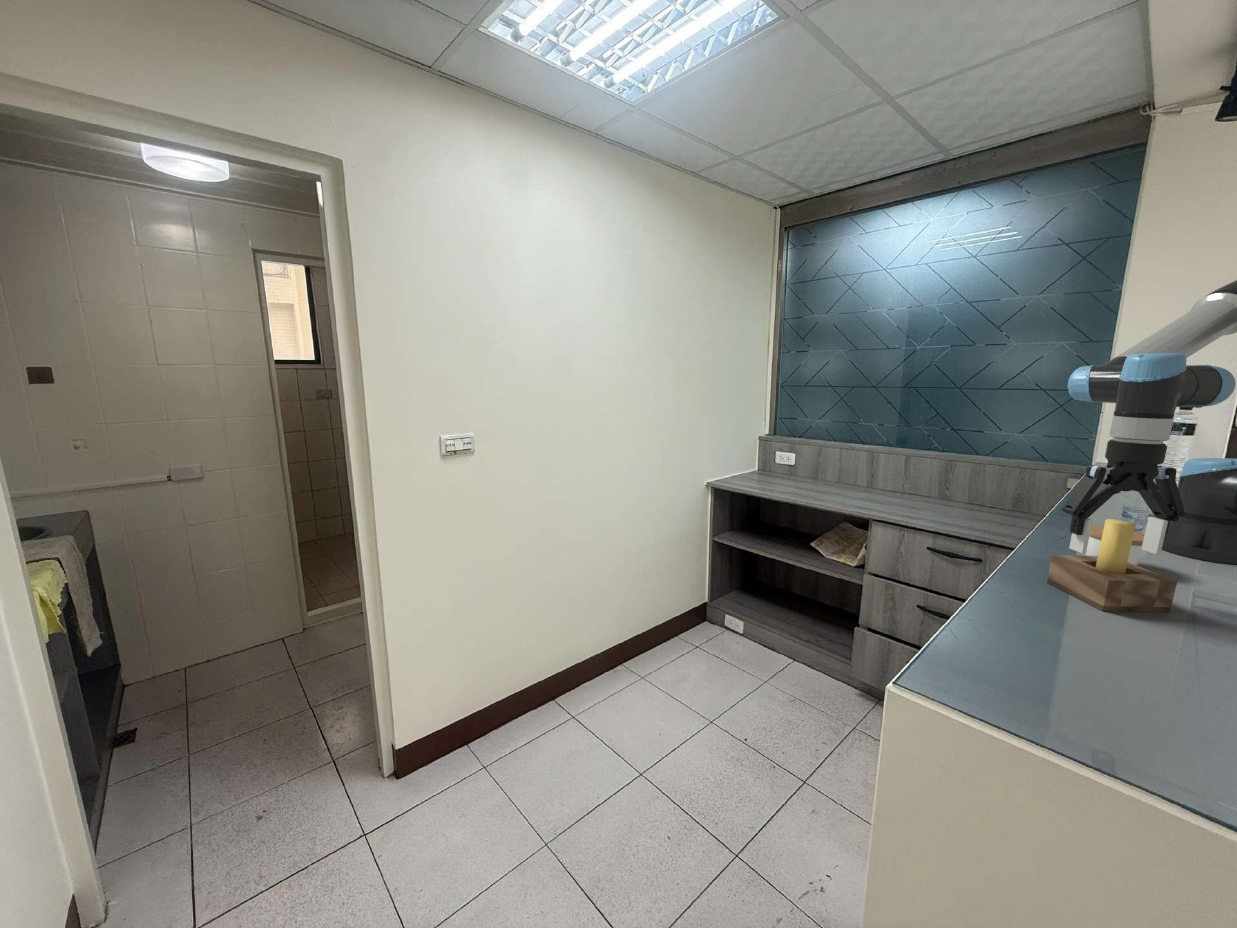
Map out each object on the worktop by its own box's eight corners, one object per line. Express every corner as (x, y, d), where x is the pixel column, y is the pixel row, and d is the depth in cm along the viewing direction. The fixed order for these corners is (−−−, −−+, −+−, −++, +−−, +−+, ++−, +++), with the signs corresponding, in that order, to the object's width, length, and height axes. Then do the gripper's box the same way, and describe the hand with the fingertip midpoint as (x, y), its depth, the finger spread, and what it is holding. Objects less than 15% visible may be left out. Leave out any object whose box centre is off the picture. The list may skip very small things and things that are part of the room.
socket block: (1106, 583, 100) (1112, 556, 99) (1169, 612, 88) (1177, 581, 87) (1046, 582, 100) (1051, 555, 99) (1102, 611, 88) (1108, 580, 87)
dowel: (1105, 587, 96) (1120, 519, 93) (1126, 596, 92) (1142, 525, 89) (1085, 587, 96) (1099, 518, 93) (1104, 596, 92) (1120, 525, 89)
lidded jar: (1113, 557, 114) (1121, 519, 113) (1158, 576, 104) (1168, 534, 102) (1064, 555, 115) (1071, 517, 114) (1104, 574, 105) (1112, 532, 103)
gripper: (1184, 438, 92) (1160, 545, 96) (1049, 437, 92) (1031, 543, 96) (1233, 444, 84) (1204, 559, 89) (1086, 442, 85) (1064, 557, 89)
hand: (1113, 551), depth 92 cm, fingers open, 13 cm apart
